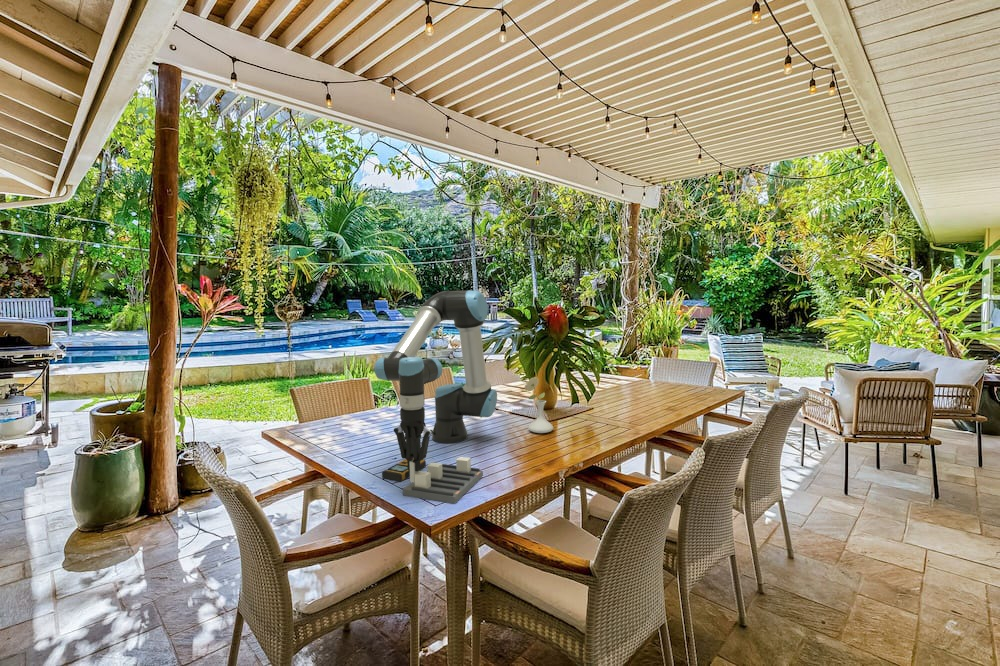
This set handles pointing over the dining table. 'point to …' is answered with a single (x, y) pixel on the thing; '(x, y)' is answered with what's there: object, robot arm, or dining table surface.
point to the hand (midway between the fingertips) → (414, 480)
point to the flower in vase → (540, 423)
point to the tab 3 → (463, 464)
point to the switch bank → (446, 485)
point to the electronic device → (400, 471)
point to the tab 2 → (435, 470)
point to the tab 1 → (423, 479)
